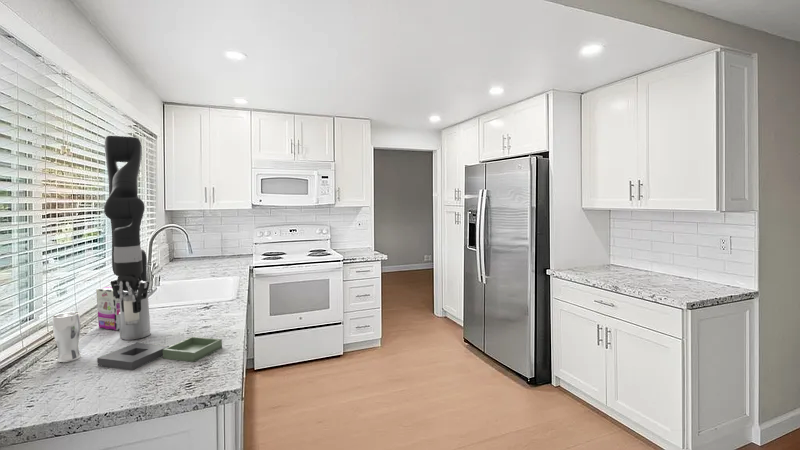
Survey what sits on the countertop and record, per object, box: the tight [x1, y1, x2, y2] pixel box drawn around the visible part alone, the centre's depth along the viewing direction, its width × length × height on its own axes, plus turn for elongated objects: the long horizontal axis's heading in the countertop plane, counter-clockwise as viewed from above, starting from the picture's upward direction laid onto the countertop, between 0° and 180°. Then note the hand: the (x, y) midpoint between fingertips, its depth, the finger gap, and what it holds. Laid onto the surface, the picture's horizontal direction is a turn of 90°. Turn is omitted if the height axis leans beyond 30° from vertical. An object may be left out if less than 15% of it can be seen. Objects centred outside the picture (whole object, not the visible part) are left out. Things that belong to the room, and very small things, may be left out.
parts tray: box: [162, 336, 223, 363], centre depth 137 cm, size 13×13×3 cm
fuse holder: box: [96, 342, 170, 371], centre depth 133 cm, size 14×14×2 cm
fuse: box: [123, 295, 140, 325], centre depth 132 cm, size 4×4×9 cm
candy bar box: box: [95, 286, 120, 331], centre depth 166 cm, size 11×5×16 cm, turn 68°
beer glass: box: [52, 311, 82, 363], centre depth 134 cm, size 7×7×15 cm
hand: (131, 311), depth 132 cm, fingers closed on fuse, 4 cm apart
